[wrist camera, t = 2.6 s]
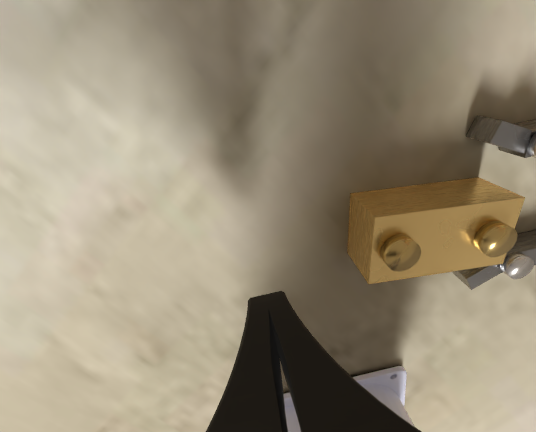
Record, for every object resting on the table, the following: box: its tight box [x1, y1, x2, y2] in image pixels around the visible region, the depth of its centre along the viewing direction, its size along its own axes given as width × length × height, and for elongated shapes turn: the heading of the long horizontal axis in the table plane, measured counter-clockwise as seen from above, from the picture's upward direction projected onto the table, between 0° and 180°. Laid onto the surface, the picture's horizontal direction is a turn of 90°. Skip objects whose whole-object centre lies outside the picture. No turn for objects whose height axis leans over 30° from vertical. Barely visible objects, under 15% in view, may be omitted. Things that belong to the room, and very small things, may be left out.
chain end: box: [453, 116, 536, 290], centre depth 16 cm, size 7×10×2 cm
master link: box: [347, 177, 525, 284], centre depth 15 cm, size 7×4×4 cm, turn 94°
